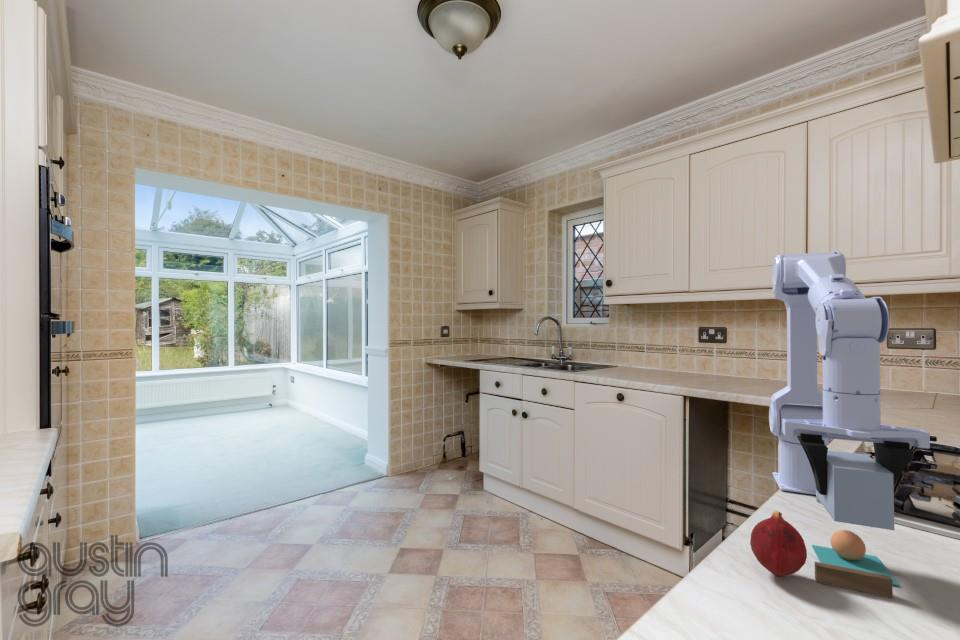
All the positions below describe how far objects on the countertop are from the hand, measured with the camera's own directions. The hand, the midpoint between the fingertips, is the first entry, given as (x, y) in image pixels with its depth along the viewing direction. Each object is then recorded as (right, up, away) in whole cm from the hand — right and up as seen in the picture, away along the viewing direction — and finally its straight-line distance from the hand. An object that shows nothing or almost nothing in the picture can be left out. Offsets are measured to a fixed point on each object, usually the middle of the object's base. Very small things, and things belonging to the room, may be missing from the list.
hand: (851, 496), depth 57 cm
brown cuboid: (-4, -9, -5) cm, 11 cm away
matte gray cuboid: (0, -2, 0) cm, 2 cm away
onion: (-11, -9, -2) cm, 15 cm away
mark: (0, -9, 0) cm, 9 cm away
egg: (+1, -7, +1) cm, 7 cm away
